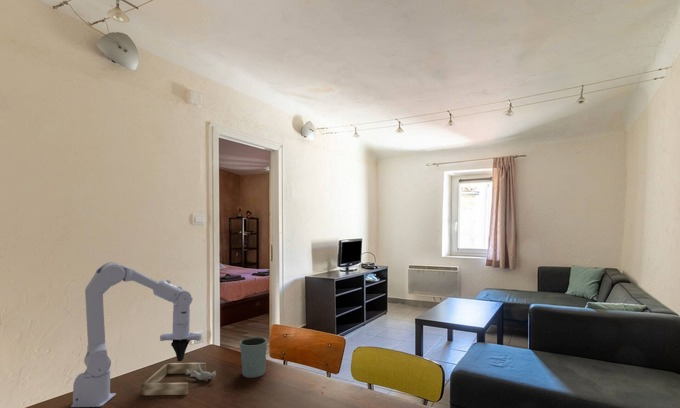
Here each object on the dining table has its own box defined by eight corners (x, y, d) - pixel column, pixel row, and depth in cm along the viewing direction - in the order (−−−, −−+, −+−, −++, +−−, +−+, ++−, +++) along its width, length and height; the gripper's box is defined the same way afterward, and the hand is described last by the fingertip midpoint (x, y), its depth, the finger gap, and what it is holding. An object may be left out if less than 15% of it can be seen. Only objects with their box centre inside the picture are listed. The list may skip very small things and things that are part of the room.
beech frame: (141, 395, 120) (141, 384, 120) (166, 372, 138) (166, 363, 138) (186, 394, 120) (186, 383, 120) (205, 371, 138) (205, 362, 138)
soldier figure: (197, 375, 137) (223, 369, 134) (193, 388, 133) (220, 382, 130) (184, 366, 133) (211, 359, 130) (179, 379, 129) (207, 372, 126)
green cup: (260, 379, 131) (260, 346, 132) (234, 377, 133) (234, 344, 134) (270, 368, 141) (271, 337, 142) (246, 366, 143) (247, 335, 144)
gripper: (204, 319, 138) (204, 355, 137) (166, 319, 138) (165, 356, 137) (197, 325, 131) (197, 363, 130) (157, 325, 131) (156, 363, 130)
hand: (180, 360), depth 133 cm, fingers closed
